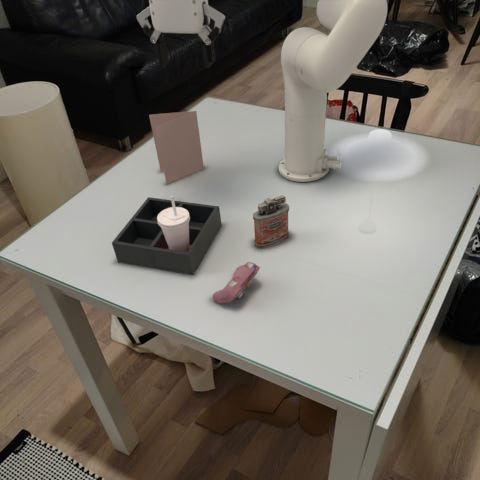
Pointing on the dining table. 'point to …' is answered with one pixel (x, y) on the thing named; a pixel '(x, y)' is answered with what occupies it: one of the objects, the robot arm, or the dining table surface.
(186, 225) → the smoothie
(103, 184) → the dining table surface
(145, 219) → the crate
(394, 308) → the dining table surface
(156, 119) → the greeting card
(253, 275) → the video game controller
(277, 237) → the lighter
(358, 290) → the dining table surface
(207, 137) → the dining table surface
